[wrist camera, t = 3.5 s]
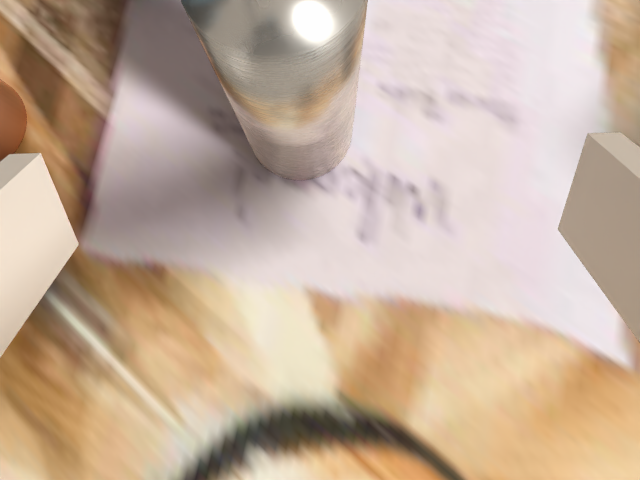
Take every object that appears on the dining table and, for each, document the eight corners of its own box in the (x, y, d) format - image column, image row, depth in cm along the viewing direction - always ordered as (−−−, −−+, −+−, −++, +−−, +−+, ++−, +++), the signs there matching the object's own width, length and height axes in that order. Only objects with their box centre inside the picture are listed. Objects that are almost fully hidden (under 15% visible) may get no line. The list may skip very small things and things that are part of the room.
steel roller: (249, 182, 22) (173, 60, 12) (248, 84, 23) (175, -117, 12) (354, 178, 22) (376, 50, 12) (349, 79, 23) (365, -127, 12)
